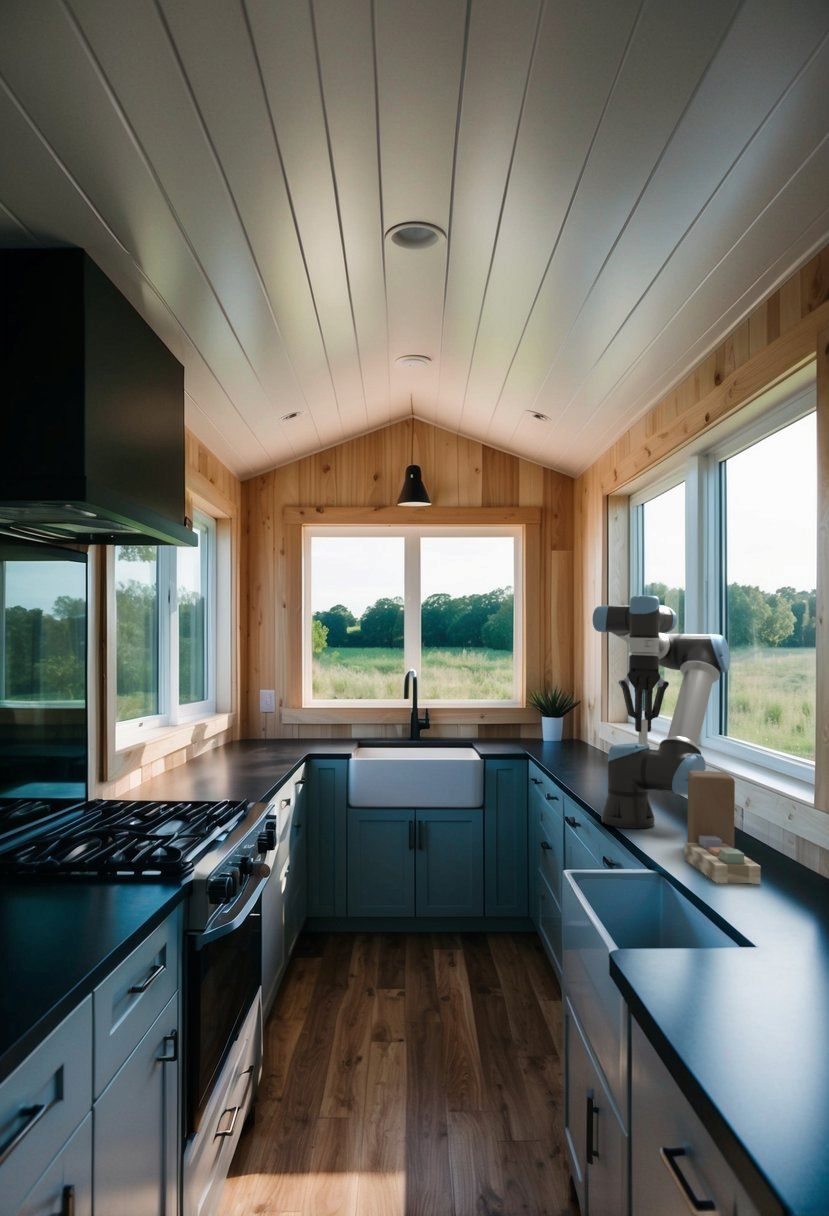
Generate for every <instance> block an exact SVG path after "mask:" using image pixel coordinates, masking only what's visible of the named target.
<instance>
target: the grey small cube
mask: <svg viewBox="0 0 829 1216" xmlns="http://www.w3.org/2000/svg"><path fill="white" fill-rule="evenodd" d="M699 846H700V847H702V848H703V849H709V847H722V840H721V839H720V838H718V837H716V836H699Z"/></svg>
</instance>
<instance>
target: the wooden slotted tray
mask: <svg viewBox="0 0 829 1216" xmlns="http://www.w3.org/2000/svg"><path fill="white" fill-rule="evenodd" d="M722 847H726V848H727V849H733V848H731V847H730V846H728V845H726V844H725V843H722ZM685 859H686V860H687V861H686V860H685ZM684 860H685V861H686V862H687V863H689V864H690V863H691V864H692V865H691V864H690V865H691V866H693V865H694V866H695V867H696V868H695V867H694V866H693V867H694V868H695V869H697V870H698V869H699V870H700V871H701V872H700V871H699V870H698V871H699V872H700V873H702V872H703V873H704V874H705V876H706V875H707V876H708V877H709V878H708V877H707V876H706V877H707V878H708V879H710V878H711V879H712V880H713V881H715V882H716V883H715V882H714V883H715V884H719V883H718V882H721V883H720V884H724V883H752V884H751V885H761V876H762V874H761V868H762V867H761V865H760V864H758V863H757V862H755V861H753V860H752V859H751V858H749V857H747V856H746V855H744V864H725V863H723V862H722V861H721V860H719V856H713V855H712V854H710V853H709V849H703V848H702V847H700V846H699V843H687V842H684ZM703 873H702V874H703ZM704 874H703V875H704ZM711 879H710V880H711ZM712 880H711V881H712ZM713 881H712V882H713ZM753 883H754V884H753Z"/></svg>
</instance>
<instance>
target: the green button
mask: <svg viewBox="0 0 829 1216" xmlns="http://www.w3.org/2000/svg"><path fill="white" fill-rule="evenodd" d="M744 856H745V853H744V852H742V851H741V850H739V849H737V848H734V849H719V860H721V861H722V862H723V863H725V864H744Z"/></svg>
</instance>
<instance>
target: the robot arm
mask: <svg viewBox="0 0 829 1216" xmlns="http://www.w3.org/2000/svg"><path fill="white" fill-rule="evenodd" d="M677 622H678V618H677V614H676V612H675V611H674V610H673V608H671V607H668V606H666V605H665V604H664V605H660V599H659V597H658V596H656V595H634V596H632V597H631V598H630V601H629V605H609V604H607V605H601V606H596V607H595V608H594V610H593V614H592V625H593V628H594V630H595V631H596V632H599V633H600V632H601V633H612V634H613V635H615V636H617V637H618V638H619V639H621V640H623V641H624V642H626V643H627V644H628V645H629V646H628V647H629V648H628V649H629V650H628V651H629V653H631V655H629V656H628V673H627V675H626V677H624V678H623V679H620V680H618V684H619V686H620V687H621V690H622V694H623V699H624V703H625V706H626V710H627V711H626V712H627V715H628V716H629V717H631V718H633V719H634V721H635V722H634V730H635V731H636V732H637V733H638V742H633V743H632V742H631V743H621V744H615V745H612V746H610V747H609V749H608V757H607V796H606V799H605V802H604V805H603V808H602V811H601V815H600V816H601V817H600V819H601V822H602V823H603V824H606V825H609V826H612V827H616V828H622V827H623V828H622V829H635V828H640V829H647V828H653V827H654V826H655V823H656V821H655V820H656V819H655V815H654V811H653V807H652V805H651V800H650V797H649V793H650V791H653V792H655V791H656V792H661V793H666V794H667V793H668V794H675V795H678V796H682V795H683V796H684V795H685V796H688V773H689V771H692V770H696V771H706V760H705V758H704V756H703V755H702V751H701V750H700V749H699V747H698V746H699V743H700V742H699V741H700V737H701V733H702V729H703V724H704V722H705V721H704V720H705V716H706V712H707V708H708V704H709V699H710V695H711V692H712V688H713V683H716V682H717V681H718V680H720V677H721V673H723V674H724V673H728V671H729V670H730V664H731V661H730V660H731V659H730V658H731V657H730V656H731V655H730V650H729V645H728V642H727V639H726V638H725V637H724V635H722V634H713V633H709V634H708V633H707V634H706V633H705V634H704V633H701V634H700V633H669V632H672V631H673V629H675V627H676V626H677ZM660 667H662V668H666V669H670V670H674V671H680V673H681V675H683V677H682V680H681V684H680V687H679V693H678V696H677V699H676V703H675V707H674V710H673V715H672V719H671V721H670V725H669V730H668V733H667V738H665V739H663V740H661V742H659V745H658V746H659V747H658V749H651V747H650V744H649V743H648V733H651V731H652V720H654V719H655V718H658V717H659V716H660V712H661V708H662V704H663V700H664V695H665V693H666V690H667V688H668V687H669V685H670V683H669V682H668V681H665V679H663V678H661V674H660V671H659V670H660ZM630 683H631V686H632V687H633V688H634V690H633V691H634V704H633V699H632V694H631V690H630V687H629V686H630ZM656 685H657V689H656V694H655V697H654V702H653V692H654V691H653V690H654V688H655V687H656ZM643 693H644V715H643ZM643 716H644V718H643Z"/></svg>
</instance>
